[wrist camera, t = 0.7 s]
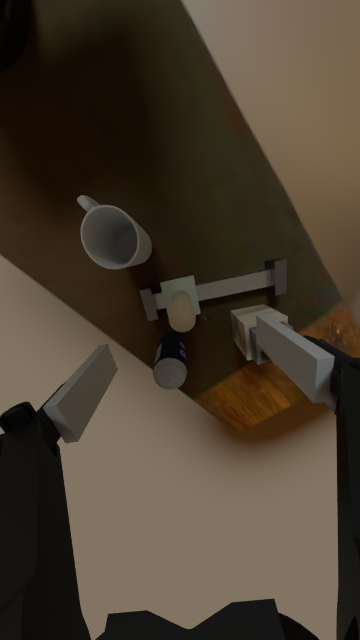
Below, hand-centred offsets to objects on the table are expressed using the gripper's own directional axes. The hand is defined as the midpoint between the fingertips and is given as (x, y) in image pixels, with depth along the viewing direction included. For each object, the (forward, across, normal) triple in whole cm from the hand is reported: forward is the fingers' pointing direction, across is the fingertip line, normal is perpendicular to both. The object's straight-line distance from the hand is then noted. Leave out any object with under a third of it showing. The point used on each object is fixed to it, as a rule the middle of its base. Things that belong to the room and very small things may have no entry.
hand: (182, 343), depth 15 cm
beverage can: (+21, -4, -10) cm, 23 cm away
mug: (+21, -7, +12) cm, 25 cm away
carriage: (+20, 0, 0) cm, 20 cm away
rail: (+20, +6, 0) cm, 21 cm away
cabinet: (+20, +13, -9) cm, 26 cm away
